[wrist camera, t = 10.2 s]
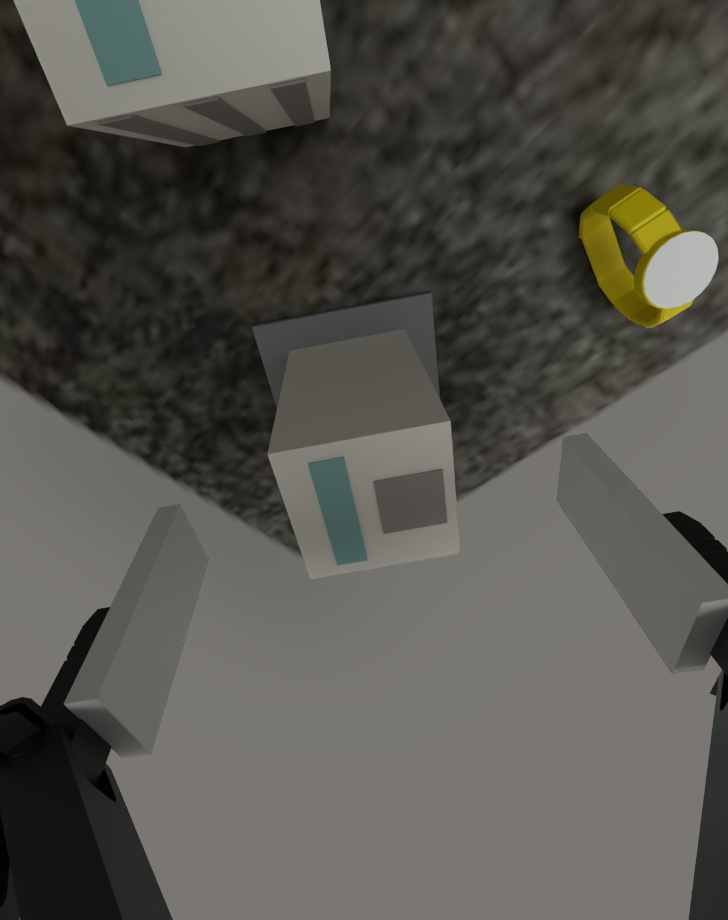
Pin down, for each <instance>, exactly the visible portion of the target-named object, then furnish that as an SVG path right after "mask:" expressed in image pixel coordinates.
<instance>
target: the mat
mask: <svg viewBox="0 0 728 920" xmlns="http://www.w3.org/2000/svg"><path fill="white" fill-rule="evenodd" d="M402 329H405V330H406V332H407V334H408V336H409V338H410V340H411V342H412V344H413V346H414V348H415V350H416V352H417V354H418V356H419V358H420V360H421V362H422V364H423V366H424V368H425V370H426V372H427V374H428V376H429V378H430V380H431V382H432V384H433V386H434V388H435V390H436V393H437V395H438V397H439V399H440V392H439V380H438V368H437V355H436V343H435V330H434V318H433V306H432V293H431V292H430V291H429V292H423V293H418V294H413V295H408V296H402V297H397V298H392V299H387V300H381V301H376V302H371V303H366V304H360V305H355V306H350V307H345V308H339V309H334V310H329V311H324V312H318V313H313V314H308V315H303V316H297V317H292V318H287V319H282V320H276V321H271V322H266V323H261V324H256V325H253V326H252V330H253V333H254V336H255V339H256V343H257V346H258V349H259V352H260V356H261V359H262V362H263V365H264V369H265V372H266V375H267V378H268V382H269V385H270V388H271V391H272V395H273V398H274V401H275V404H276V408H277V407H278V402H279V398H280V393H281V388H282V384H283V379H284V374H285V370H286V365H287V360H288V355H289V351H292V350H297V349H302V348H308V347H313V346H318V345H323V344H329V343H334V342H339V341H344V340H350V339H355V338H360V337H365V336H370V335H376V334H381V333H386V332H391V331H397V330H402Z"/></svg>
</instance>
